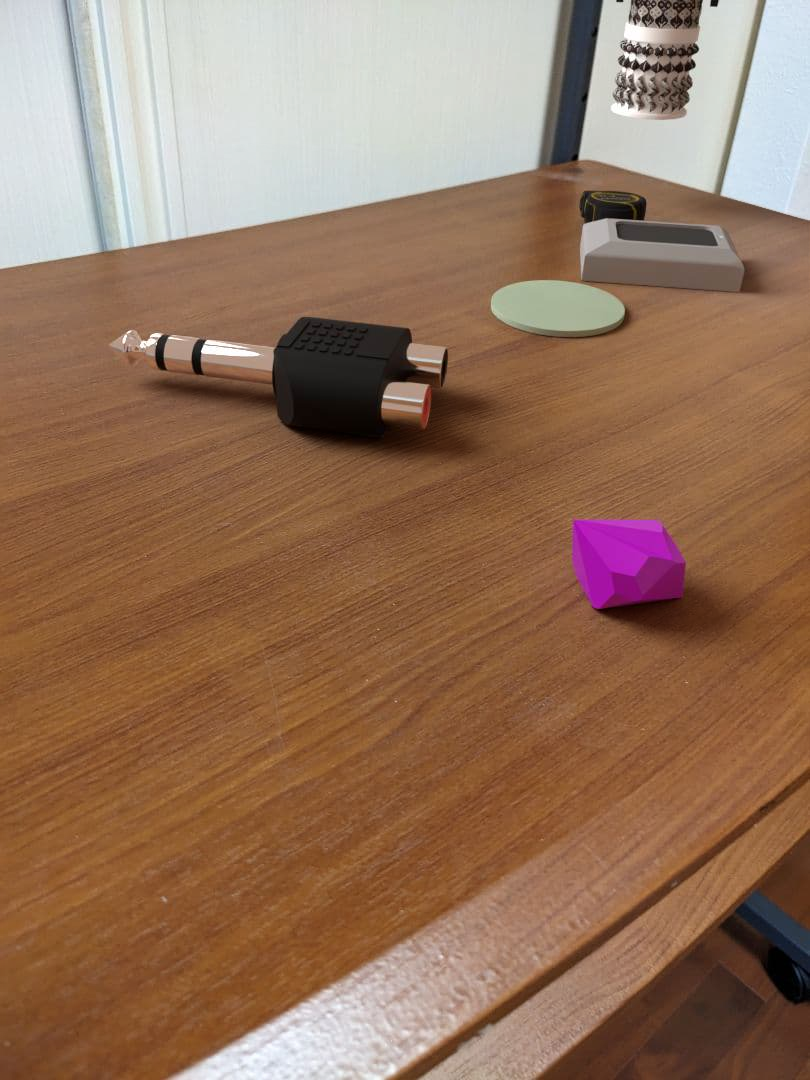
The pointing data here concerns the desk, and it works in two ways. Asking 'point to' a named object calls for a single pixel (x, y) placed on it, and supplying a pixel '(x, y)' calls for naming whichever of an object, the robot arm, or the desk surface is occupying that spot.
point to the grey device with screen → (660, 255)
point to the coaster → (557, 308)
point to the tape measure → (611, 206)
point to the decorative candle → (657, 59)
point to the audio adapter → (315, 371)
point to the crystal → (626, 562)
